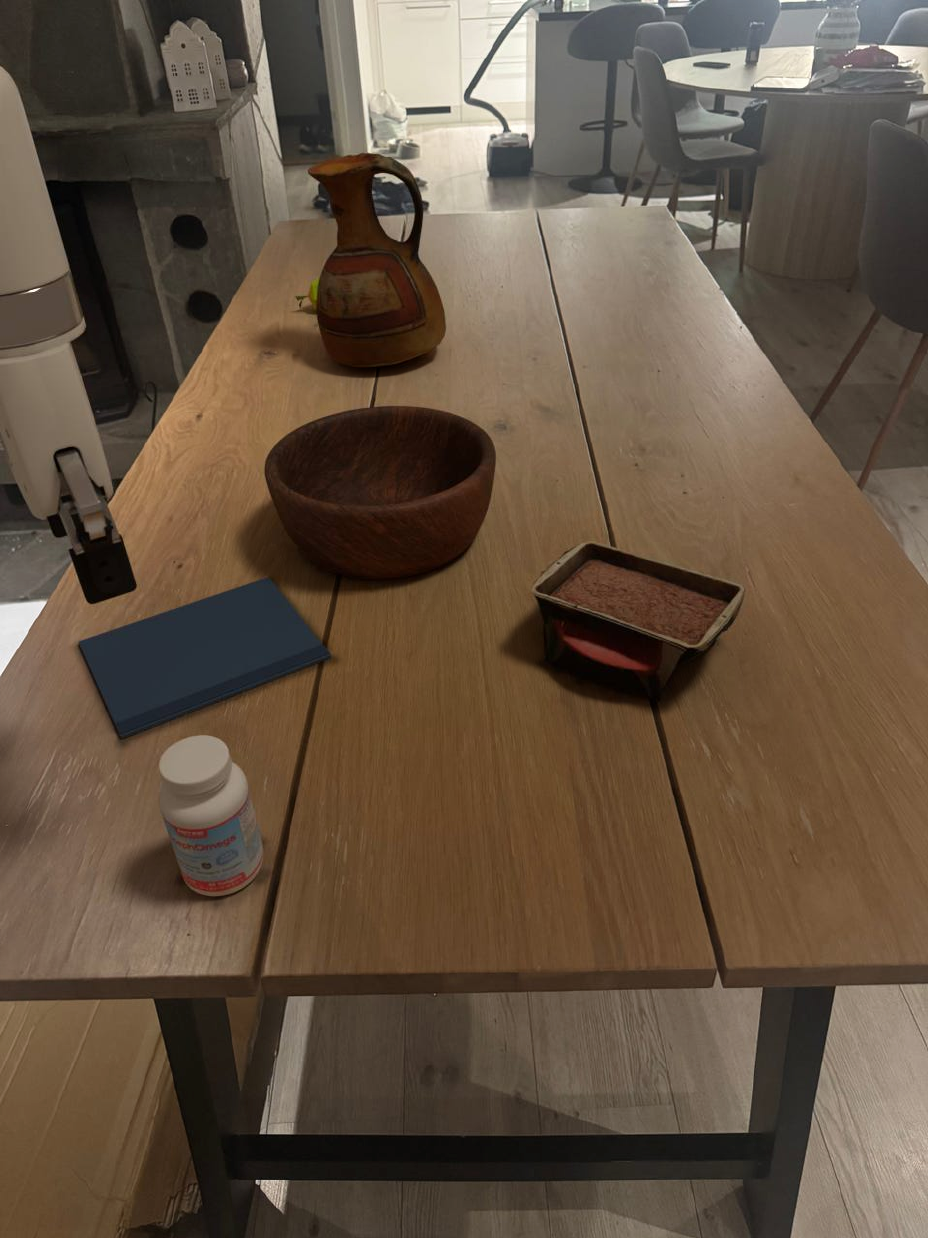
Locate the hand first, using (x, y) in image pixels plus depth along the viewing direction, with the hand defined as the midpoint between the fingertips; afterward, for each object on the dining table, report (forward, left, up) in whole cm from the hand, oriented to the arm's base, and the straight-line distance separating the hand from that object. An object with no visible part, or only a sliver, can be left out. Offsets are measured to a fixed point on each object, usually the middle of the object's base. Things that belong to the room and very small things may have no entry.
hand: (93, 561), depth 63 cm
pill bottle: (+1, -11, -22) cm, 24 cm away
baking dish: (+42, -8, -22) cm, 48 cm away
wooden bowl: (+33, +24, -22) cm, 46 cm away
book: (+8, +15, -22) cm, 28 cm away
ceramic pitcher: (+58, +73, -22) cm, 96 cm away
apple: (+59, +100, -22) cm, 118 cm away
